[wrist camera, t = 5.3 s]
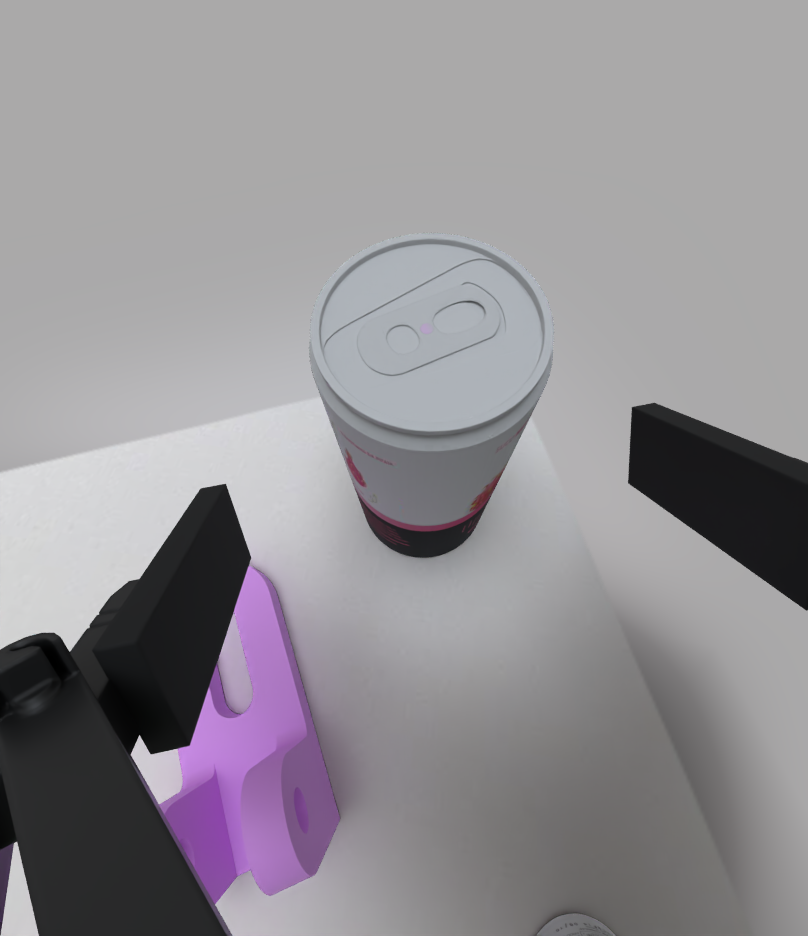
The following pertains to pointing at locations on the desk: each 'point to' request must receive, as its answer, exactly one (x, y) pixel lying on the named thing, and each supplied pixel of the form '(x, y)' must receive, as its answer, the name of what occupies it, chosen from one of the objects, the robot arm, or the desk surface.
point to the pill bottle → (575, 926)
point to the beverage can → (429, 379)
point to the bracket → (255, 767)
